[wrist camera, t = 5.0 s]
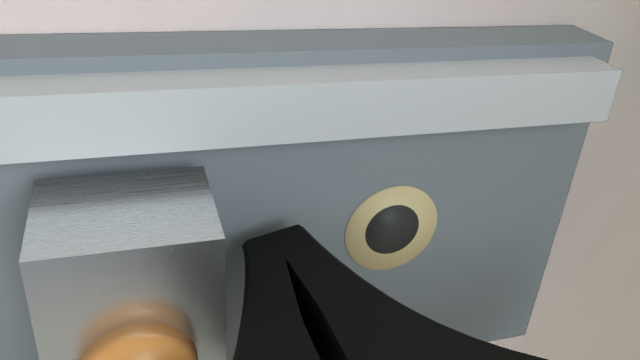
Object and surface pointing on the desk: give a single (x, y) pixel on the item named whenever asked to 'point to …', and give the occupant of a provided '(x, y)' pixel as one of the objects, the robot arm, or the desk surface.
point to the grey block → (126, 267)
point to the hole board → (323, 149)
